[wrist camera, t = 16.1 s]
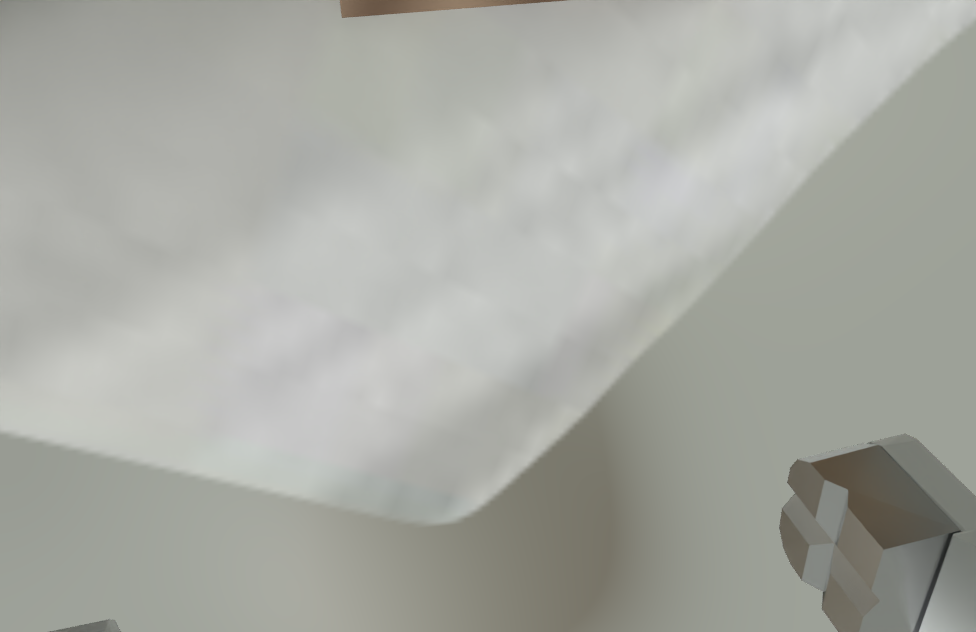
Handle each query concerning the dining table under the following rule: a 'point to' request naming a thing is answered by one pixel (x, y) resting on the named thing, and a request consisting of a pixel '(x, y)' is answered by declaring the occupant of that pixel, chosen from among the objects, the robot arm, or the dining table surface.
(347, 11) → the sleeve stand
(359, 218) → the dining table surface
